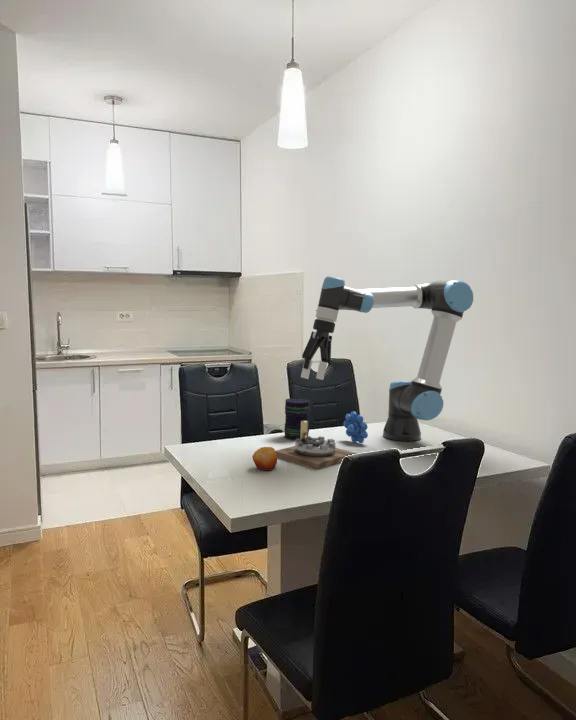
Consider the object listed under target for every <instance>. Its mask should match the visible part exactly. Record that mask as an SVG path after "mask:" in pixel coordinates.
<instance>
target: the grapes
mask: <svg viewBox="0 0 576 720" xmlns="http://www.w3.org/2000/svg"><path fill="white" fill-rule="evenodd" d="M343 427H344V428H345V429H346V430H345V435H346V436H347V437H348V438H349V437H350V440H351V441H352V442H353V443H357V442H358V443H359V444H363V443H364V441H365V439H367V438H368V436H369V434H368V432H367V429H368V427H369V426H368V424H367V423H366V422H365V421H364V417H363V416H362V415H361V414H357V411H354V410H353V411H351V412H350V413H346V415H345V420H344V421H343Z"/></svg>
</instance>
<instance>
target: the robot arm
mask: <svg viewBox="0 0 576 720" xmlns="http://www.w3.org/2000/svg"><path fill="white" fill-rule="evenodd" d="M345 283H346V281H345V280H344V279H342V278H340V277H336V276H325V278H324V279H323V282H322V286H321V290H320V293H319V300H318V303H317V308H316V310H315V313H316V314H315V318H316V319H314V321H313V325H312V330H316V331H311V333H310V337H309V340H308V341H307V344H306V346H305V348H304V350H303V352H302V355H301V356H302V357H301V358H302V359H304V361H303V365H302V370H301V374H300V378H303V379H306V380H309V378H310V374H311V373H310V372H311V368H312V365H313V360H312V359H313V358H314V356H315V354H316V353H317V352H318V350H319V351H320V361H319V364H318V366H317V367H318V368H317V372H316V376H315V379H318V380H322V381H324V378H325V374H326V369H327V365H328V364H330V363H331V360H332V340H333V335H329V334H333V333H335V332H334V331H335V327H336V322H337V321H338V320H337V319H338V315H339V311H341V310H343V311H355V312H359V313H364V314H367V313H370V312H371V310H372V309H382V308H384V309H385V308H403V307H405V308H406V307H412V308H413V309H426V310H430V311H431V314H432V316H433V319H432V323H431V326H430V330H429V333H428V337H427V341H426V343H425V347H424V351H423V355H422V359H421V362H420V365H419V368H418V372H417V376H416V377H415V378H414V379H411V380H405V381H404V380H396V381H391V382H390V384H389V389H388V392H389V395H388V415H387V419H386V422H385V425H384V426H383V427H384V428H383V430H382V431H383V432H382V436H383V437H384V438H386V439H389V440H392V441H398V440H399V441H400V442H415V440H416V441H420V440H421V439H422V431H421V428H420V424H419V421H418V420H421V421H432V420H433V419H435V418H437V417H438V416H439V415H440V414H441V413H442V412H443V409H444V399H443V396H442V395H441V394H442V390H443V387H442V386H441V384H440V382H441V379H442V375H443V371H444V368H445V364H446V361H447V358H448V354H449V350H450V346H451V343H452V339H453V336H454V333H455V328H456V326H457V323H458V322H459V321H461V320H462V319H463V316H464V313H465V312H466V311H468V310H469V309H470V308H471V307H472V305H473V303H474V292H473V290H472V288H471V286H470V285H469V284H468V283H467V282H465V281H464V280H458V279H451V280H436V281H432V282H426V283H415V284H413V285H412V286H409V287H408V286H405V287H402V286H401V287H382V288H357V289H356V288H353V287H349V286H347V285H346V284H345Z"/></svg>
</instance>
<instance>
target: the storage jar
mask: <svg viewBox="0 0 576 720" xmlns="http://www.w3.org/2000/svg"><path fill="white" fill-rule="evenodd" d="M310 402H311V401H310V400H309V399H306V398H297V397H295V398H294V397H293V398H292V397H290V398H286V399H285V403H284V405H285V406H284V414H285V423H284V429H283V430H284V439H286V440H289V441H296V439H297V438H300V437H301V421H308V422H309V419H310V417H309V416H310V410H311V407H310V405H311V404H310ZM309 434H310V423H308V430H307V436H309Z"/></svg>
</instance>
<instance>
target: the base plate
mask: <svg viewBox="0 0 576 720" xmlns="http://www.w3.org/2000/svg"><path fill="white" fill-rule="evenodd" d="M275 451H276V453H277V457H278V458H279V459H281V460H285V461H288V462H290V463H294V464H298V465H301V466H304V467H307V468H311V469H314V470H317V471H318V470H322V469H324V468H328V467H332V466H334V465H338V464H341V461H342V459H343V458H344V457H345V456H348V455H352V454H356V452H354V451H350V450H346V449H341V448H338V447H335V454H333V455H330V456H323V457H313V456H305V455H301V454H298V453H297V452H295V445H294V446H290V447H289V446H288V447H285V448H280V449H277V450H275ZM278 458H277V459H278Z"/></svg>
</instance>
